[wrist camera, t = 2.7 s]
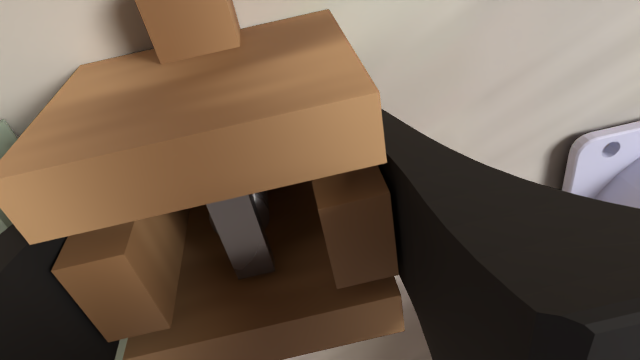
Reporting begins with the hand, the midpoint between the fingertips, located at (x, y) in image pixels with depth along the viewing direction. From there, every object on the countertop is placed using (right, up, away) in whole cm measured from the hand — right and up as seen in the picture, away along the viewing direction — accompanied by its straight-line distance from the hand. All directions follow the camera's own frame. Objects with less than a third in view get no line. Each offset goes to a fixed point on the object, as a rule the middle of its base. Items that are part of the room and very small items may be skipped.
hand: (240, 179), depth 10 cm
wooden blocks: (0, +1, +1) cm, 2 cm away
